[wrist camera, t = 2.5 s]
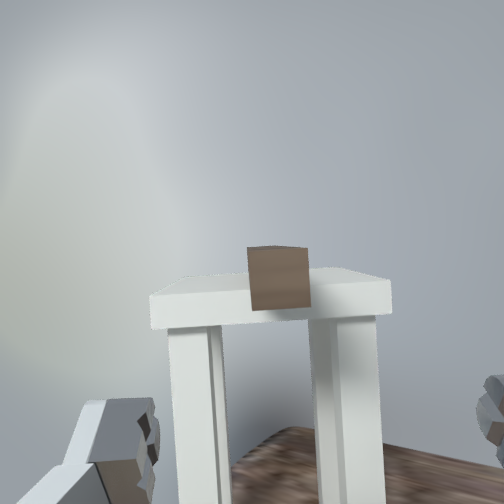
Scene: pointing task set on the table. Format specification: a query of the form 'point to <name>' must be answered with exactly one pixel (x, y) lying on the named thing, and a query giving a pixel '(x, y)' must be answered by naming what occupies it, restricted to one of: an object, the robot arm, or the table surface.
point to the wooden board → (278, 277)
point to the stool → (322, 372)
